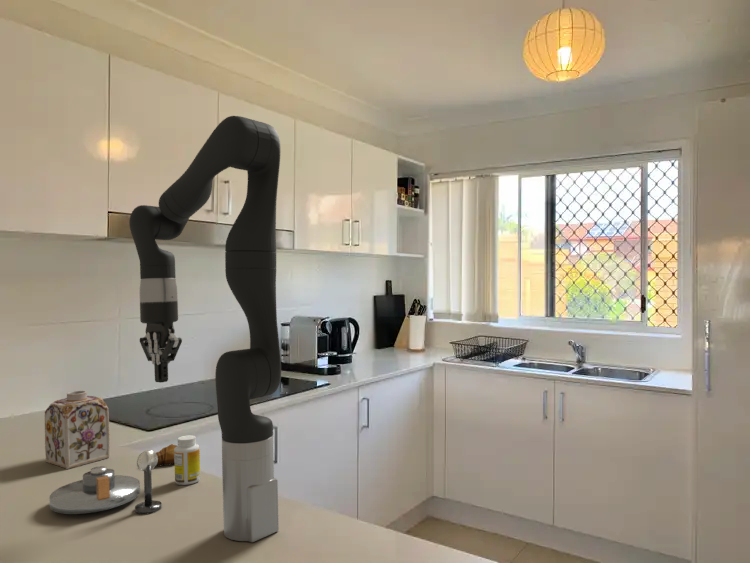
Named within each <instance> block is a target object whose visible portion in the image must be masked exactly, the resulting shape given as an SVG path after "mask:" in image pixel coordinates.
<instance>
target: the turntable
mask: <svg viewBox="0 0 750 563" xmlns="http://www.w3.org/2000/svg"><path fill="white" fill-rule="evenodd" d="M114 476H115V487H114V488H113V489H111V490H109V477H108V476H103V477H98V478H96V492H97V493H96V494H87V493H84V492H83V479H81V480H77V481H73V482H70V483H68V484H65V485H63V486H60V487H58V488H56V489H55V490H54V491H52V492H51V493H50V495H49V498H48V499H49V509H50V510H52V512H55V513H59V514H64V515H81V514H90V513H97V512H103V511H107V510H110V509H114V508H117V507H120V506H122V505H125V504H127V503H130V502H131V501H133V500H134V499H136V498H137V497H138V496H139V495H140V493H141V482H140V479H138V478H137V477H134V476H130V475H119V474H118V475H116V474H114Z"/></svg>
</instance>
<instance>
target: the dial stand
mask: <svg viewBox="0 0 750 563" xmlns="http://www.w3.org/2000/svg"><path fill="white" fill-rule="evenodd" d="M157 462H158V456H157V454H156V451H153V450H148V449H147V450H144V451H142V452H141V453H140V454H139V455H138V457H137V458H136V466H137V468H138V470H139V471H142V472H143V482H144V484H143V486H144V487H143V488H144V492H143V494H144V499H143V500H144V501H143V502H140V503H138V504H136V505H135V507H134V512H135V513H136V514H138V515H148V514H147V513H149V514H153V512H154V513H157V512H159V511H160V510H161V509H162V508H163V506H162V502H161V501H160V500H153V492H152V491H153V490H152V489H153V488H152V470H154V468H156V467H157V466H156V465H157ZM155 466H156V467H155Z"/></svg>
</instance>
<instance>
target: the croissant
mask: <svg viewBox="0 0 750 563" xmlns="http://www.w3.org/2000/svg"><path fill="white" fill-rule="evenodd" d="M176 446H178V444H177V445H176V444H172V443H171V444H169V445H168V446H165V447H163V448H162V449H161V450H158V451H157V452H156V451H155V453H156V454H157V456H158V462H157V465H156V467H161V466H160V465H163V466H169V464H172V465H175V462H174V449H175V447H176Z"/></svg>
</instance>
